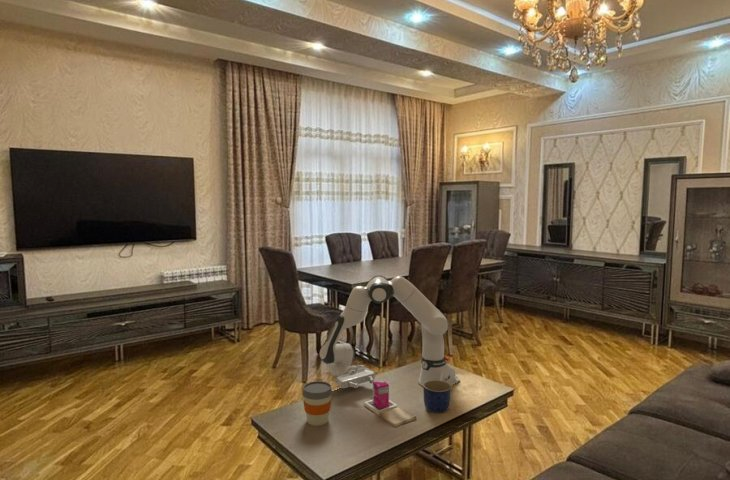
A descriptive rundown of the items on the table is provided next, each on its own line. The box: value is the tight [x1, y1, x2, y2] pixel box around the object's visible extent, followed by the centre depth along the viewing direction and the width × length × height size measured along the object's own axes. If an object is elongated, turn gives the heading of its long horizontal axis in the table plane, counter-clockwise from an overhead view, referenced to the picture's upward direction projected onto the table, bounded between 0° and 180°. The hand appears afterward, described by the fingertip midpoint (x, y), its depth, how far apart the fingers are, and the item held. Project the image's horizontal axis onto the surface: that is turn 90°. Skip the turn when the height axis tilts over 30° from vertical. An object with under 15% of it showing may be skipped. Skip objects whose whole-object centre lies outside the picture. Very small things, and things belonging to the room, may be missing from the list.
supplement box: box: [372, 379, 390, 410], centre depth 204 cm, size 6×6×12 cm
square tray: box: [363, 399, 399, 416], centre depth 205 cm, size 11×11×2 cm
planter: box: [422, 380, 452, 414], centre depth 203 cm, size 12×12×11 cm
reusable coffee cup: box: [302, 380, 333, 427], centre depth 191 cm, size 13×13×15 cm
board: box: [378, 406, 417, 427], centre depth 195 cm, size 12×11×1 cm
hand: (365, 384), depth 214 cm, fingers open, 8 cm apart
